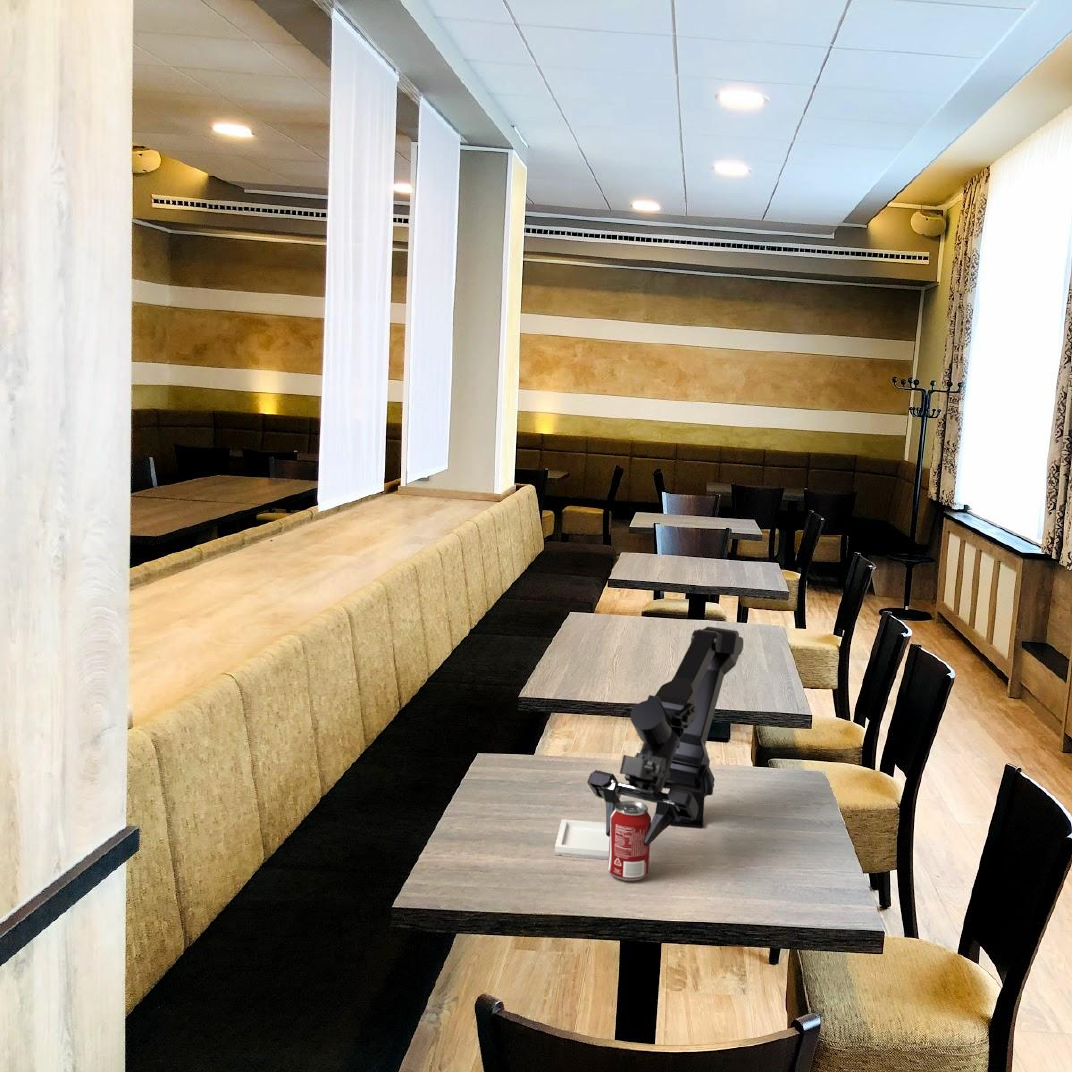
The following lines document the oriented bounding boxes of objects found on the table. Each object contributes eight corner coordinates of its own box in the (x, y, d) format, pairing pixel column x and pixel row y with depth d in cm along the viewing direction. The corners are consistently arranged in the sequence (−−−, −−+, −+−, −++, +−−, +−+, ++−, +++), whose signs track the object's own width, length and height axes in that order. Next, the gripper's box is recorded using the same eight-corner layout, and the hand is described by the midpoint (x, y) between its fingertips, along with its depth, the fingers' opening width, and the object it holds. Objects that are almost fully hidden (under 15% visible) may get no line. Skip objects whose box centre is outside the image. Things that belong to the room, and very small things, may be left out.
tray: (626, 832, 203) (626, 824, 203) (623, 861, 191) (623, 852, 191) (561, 827, 205) (561, 819, 204) (554, 855, 193) (554, 846, 192)
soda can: (649, 884, 183) (653, 816, 181) (608, 883, 183) (612, 814, 181) (646, 866, 190) (650, 800, 188) (607, 864, 190) (610, 798, 188)
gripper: (594, 725, 191) (562, 806, 183) (696, 746, 182) (667, 833, 174) (611, 755, 199) (581, 835, 191) (710, 777, 190) (682, 861, 182)
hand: (626, 840), depth 184 cm, fingers closed on soda can, 6 cm apart
